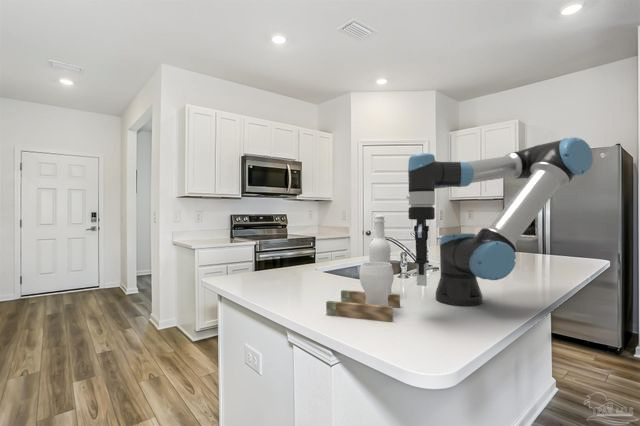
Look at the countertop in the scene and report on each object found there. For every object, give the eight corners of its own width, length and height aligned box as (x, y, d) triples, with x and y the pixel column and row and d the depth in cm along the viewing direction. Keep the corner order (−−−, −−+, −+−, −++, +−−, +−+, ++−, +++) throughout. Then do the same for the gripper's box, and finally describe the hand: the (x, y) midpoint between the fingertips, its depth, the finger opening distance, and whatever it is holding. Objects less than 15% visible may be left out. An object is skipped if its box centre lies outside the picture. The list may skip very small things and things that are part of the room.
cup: (392, 307, 112) (391, 261, 112) (396, 317, 101) (395, 267, 101) (359, 306, 113) (358, 261, 113) (360, 316, 103) (359, 267, 102)
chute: (400, 306, 112) (399, 294, 112) (391, 321, 98) (391, 307, 98) (342, 301, 120) (342, 290, 120) (326, 314, 105) (326, 301, 105)
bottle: (367, 297, 125) (365, 215, 124) (372, 292, 132) (371, 214, 132) (389, 299, 122) (388, 215, 121) (393, 293, 129) (392, 214, 129)
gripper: (411, 206, 109) (411, 279, 109) (405, 206, 97) (405, 288, 97) (435, 206, 106) (435, 281, 107) (433, 206, 94) (433, 291, 94)
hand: (421, 285), depth 102 cm, fingers closed
